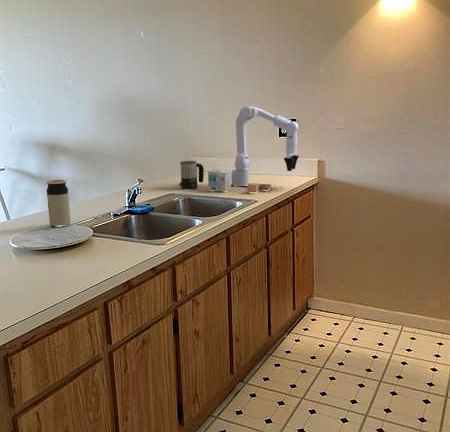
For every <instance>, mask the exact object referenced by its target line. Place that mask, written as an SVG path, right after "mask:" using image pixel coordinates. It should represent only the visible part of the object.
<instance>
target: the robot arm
mask: <svg viewBox="0 0 450 432" xmlns="http://www.w3.org/2000/svg"><path fill="white" fill-rule="evenodd" d="M255 117H260V118H263V119H265V120H267V121H270V122H272V123H273V126H275V127H277V128H279V129H282V130H283V131H285V132H286V140H285V141H286V143H285V144H286V148H285V151H286V152H285V156H286V157H283V160H284V162H285V165H286V169H287V172H293V171H292V170H295V169H296V166H297V161H298V159H299V158H300V153H299V152H298V130H299V125H298V123H297V122H296V121H292V119H288V118H285V117H284V115H281V114H280V115H274V114H272V113H269V112H267V111H266V110H264V109H262V108H260V107H257V106H254V105H250V106H249V105H248V106H247V105H245V106H244V107H242V108H241V109H240V110H239V113H238V114H237V118H236V119H235V132H236V135H235V136H236V152H237V153H236V157H235V162H234V167H235V169H232V171H231V185H238V186H237V187H239V186H246V185H248V184H249V183H250V168H249V167H250V165H251V161H250V158H249V154H248V152H247V150H248V149H247V133H246V132H247V131H246V128H247V127H246V124H247V123H248V122H249V121H250V120H251V119H253V118H255Z"/></svg>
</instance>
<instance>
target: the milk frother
mask: <svg viewBox="0 0 450 432" xmlns="http://www.w3.org/2000/svg"><path fill="white" fill-rule="evenodd" d="M179 163H180V180H181V181H180V182H179V186H180V189H181V190H184V189H193V190H196V189H195V188H197V189H198V182H199V183H201V184H202V183H203V182H204V176H205V175H204V171H205V170H204V169H205V168H204V166H203V164H201V163H199V162H197V161H196V160H184V161H183V160H182V161H179ZM197 168H198V170H197Z"/></svg>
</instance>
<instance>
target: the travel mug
mask: <svg viewBox="0 0 450 432" xmlns="http://www.w3.org/2000/svg"><path fill="white" fill-rule="evenodd" d="M66 183H67V180H66V179H52V180H50V179H49V180H47V181H46V184H47V188H46V197H47V207H48V218H49V221H48V222H49V226H50V227H51V226H57V225H69V224H70V225H72V224H71V223H72V222H71V221H72V220H71V212H70V202H69V201H70V200H69V188H68V187H67V184H66ZM70 225H69V226H70Z"/></svg>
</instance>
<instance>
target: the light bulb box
mask: <svg viewBox="0 0 450 432" xmlns="http://www.w3.org/2000/svg"><path fill="white" fill-rule="evenodd" d="M207 174H208V175H207V177H208V178H207V181H208V183H207V186H208V188H207V189H208V190H215V191H228V190H231V191H232V186H231V185H232V171H231V170H222V169H221V170H220V169H212V170H209V171H207ZM215 191H214V192H215ZM228 192H229V191H228Z"/></svg>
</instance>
